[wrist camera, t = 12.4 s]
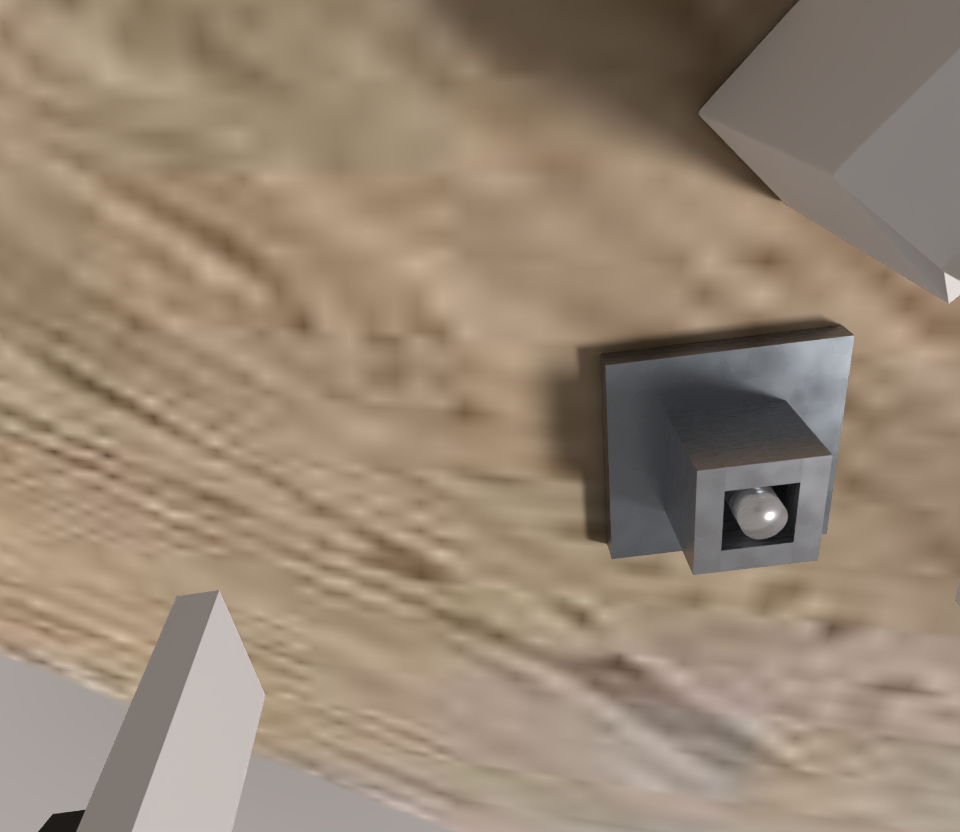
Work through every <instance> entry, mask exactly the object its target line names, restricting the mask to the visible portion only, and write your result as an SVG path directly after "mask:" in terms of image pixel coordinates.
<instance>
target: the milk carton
mask: <svg viewBox="0 0 960 832" xmlns="http://www.w3.org/2000/svg"><path fill="white" fill-rule="evenodd" d="M699 116H700V117H701V118H702V119H703V120H704V121H705V122H706V123H707V124H708V125H709V126H710V127H711V128H712V129H713V130H714V131H715V132H716V133H717V134H718V135H719V136H720V137H721V138H722V139H723V140H724V141H725V143H726V144H727V145H728V146H729V147H730V148H731V149H732V150H733V151H734V152H735V153H736V154H737V155H738V156H739V157H740V158H741V159H742V160H743V161H744V162H745V163H746V164H747V165H748V166H749V167H750V168H751V169H752V170H753V171H754V172H755V174H756V175H757V176H758V177H759V178H760V179H761V180H762V181H763V182H764V183H765V184H766V185H767V186H768V187H769V188H770V189H771V190H772V191H773V192H774V193H775V194H776V195H777V196H778V197H779V198H780V199H781V200H782V201H783V202H784V203H785V204H786V205H787V206H789V207H790V208H792V209H794V210H795V211H797V212H799V213H800V214H802V215H804V216H805V217H807V218H809V219H810V220H812V221H813V222H815V223H817V224H818V225H820V226H822V227H823V228H825V229H827V230H828V231H830V232H832V233H833V234H835V235H837V236H838V237H840V238H841V239H843V240H845V241H846V242H848V243H850V244H851V245H853V246H855V247H856V248H858V249H860V250H861V251H863V252H865V253H866V254H868V255H869V256H871V257H873V258H874V259H876V260H878V261H879V262H881V263H883V264H884V265H886V266H888V267H889V268H891V269H893V270H894V271H896V272H898V273H899V274H901V275H902V276H904V277H906V278H907V279H909V280H911V281H912V282H914V283H916V284H917V285H919V286H921V287H922V288H924V289H926V290H927V291H929V292H930V293H932V294H934V295H935V296H937V297H939V298H940V299H942V300H944V301H945V302H947V303H948V304H949V303H950V302H951V301H953V300H954V299H955V298H956V297H958V296H959V295H960V0H799V1H798V2H797V3H796V4H795V5H794V6H793V8H792V9H791V10H790V11H789V12H788V13H787V14H786V15H785V16H784V17H783V19H782V20H781V21H780V22H779V23H778V24H777V25H776V26H775V27H774V28H773V30H772V31H771V32H770V33H769V34H768V35H767V36H766V37H765V38H764V39H763V41H762V42H761V43H760V44H759V45H758V46H757V47H756V48H755V49H754V50H753V52H752V53H751V54H750V55H749V56H748V57H747V58H746V59H745V60H744V61H743V63H742V64H741V65H740V66H739V67H738V68H737V69H736V70H735V71H734V72H733V74H732V75H731V76H730V77H729V78H728V79H727V80H726V81H725V82H724V84H723V85H722V86H721V87H720V88H719V89H718V90H717V91H716V92H715V93H714V95H713V96H712V97H711V98H710V99H709V100H708V101H707V102H706V103H705V105H704V106H703V107H702V108H701V109H700V111H699Z"/></svg>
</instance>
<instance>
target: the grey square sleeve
mask: <svg viewBox="0 0 960 832" xmlns="http://www.w3.org/2000/svg"><path fill="white" fill-rule="evenodd" d="M831 462H832V454H831V453H830V451H829V450H828V449H827V448H826V447H825V446H824V444H823V443H822V442H821V441H820V440H819V439H818V437H817V436H816V435H815V434H814V433H813V432H812V430H811V429H810V428H809V427H808V426H807V425H806V423H805V422H804V421H803V420H802V419H801V418H800V416H799V415H798V414H797V413H796V412H795V411H794V409H793V408H792V407H791V406H790V405H789V404H788V402H787V401H778V402H770V403H761V404H753V405H745V406H736V407H728V408H719V409H711V410H702V411H694V412H685V413H677V414H668V415H667V419H666V492H665V512H666V514H667V517H668V519H669V521H670V523H671V526H672V528H673V530H674V532H675V535H676V537H677V539H678V541H679V544H680V546H681V548H682V551H683V553H684V555H685V557H686V560H687V562H688V564H689V566H690V569H691V571H692V573H693V575H696V574H705V573H714V572H722V571H731V570H739V569H748V568H757V567H765V566H774V565H782V564H791V563H800V562H808V561H817V560H818V555H819V548H820V541H821V534H822V527H823V519H824V512H825V505H826V498H827V491H828V484H829V476H830V469H831ZM766 486H771V488H772V489H773V491H774V492H775V494H776V495H777V497H778V498H779V500H780V501H781V502H782V504H783V505H784V507H785V508H786V510H787V513H788V519H787V522H786V524H785V526H784V527H783V529H782V530H781V531H780V532H778V533H777V534H775V535H774V536H772V537H769V538H766V539H753V538H750V537H748V536H747V535H745V534H744V532H743V531H742V529H741V527H740V526H739V524H738V522H737V520H736V519H735V517H734V515H733V513H732V512H731V510H730V508H729V506H728V505H727V503H726V501H725V499H724V494H725V491H731V490H740V489H749V488H757V487H766Z"/></svg>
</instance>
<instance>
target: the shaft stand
mask: <svg viewBox="0 0 960 832" xmlns="http://www.w3.org/2000/svg"><path fill="white" fill-rule="evenodd" d="M853 342H854V335H853V334H852V333H851V332H850V331H848V330H847V329H846V328H845V327H844V326H842V325H839V326H831V327H823V328H815V329H806V330H798V331H790V332H782V333H773V334H765V335H757V336H749V337H740V338H732V339H724V340H715V341H707V342H699V343H691V344H682V345H674V346H666V347H658V348H649V349H641V350H633V351H625V352H616V353H608V354H601V381H602V409H603V437H604V465H605V492H606V520H607V545H608V548H609V551H610V555H611V558H612V559H616V558H625V557H633V556H641V555H650V554H658V553H667V552H675V551H682V548H681V546H680V544H679V541H678V539H677V537H676V535H675V532H674V530H673V528H672V526H671V523H670V521H669V519H668V517H667V514H666V512H665V492H666V419H667V415H668V414H677V413H685V412H694V411H702V410H711V409H719V408H728V407H736V406H745V405H753V404H761V403H770V402H778V401H787V402H788V404H789V405H790V406H791V407H792V408H793V409H794V411H795V412H796V413H797V414H798V415H799V416H800V418H801V419H802V420H803V421H804V422H805V423H806V425H807V426H808V427H809V428H810V429H811V430H812V432H813V433H814V434H815V435H816V436H817V437H818V439H819V440H820V441H821V442H822V443H823V444H824V446H825V447H826V448H827V449H828V450H829V451H830V453H831V454H832V462H831V469H830V476H829V484H828V491H827V498H826V505H825V512H824V519H823V527H822V534H827V527H828V520H829V513H830V506H831V498H832V491H833V484H834V477H835V470H836V463H837V456H838V449H839V441H840V434H841V427H842V420H843V413H844V406H845V399H846V392H847V384H848V377H849V370H850V363H851V356H852V349H853ZM724 499H725V501H726V503H727V505H728V506H729V508H730V510H731V512H732V513H733V515H734V517H735V519H736V520H737V522H738V524H739V526H740V527H741V529H742V531H743V532H744V534H745V535H747V536H748V537H750V538H753V539H766V538H769V537H772V536H774V535H775V534H777V533H778V532H780V531H781V530H782V529H783V527H784V526H785V524H786V522H787V519H788V513H787V510H786V508H785V507H784V505H783V504H782V502H781V501H780V500H779V498H778V497H777V495H776V494H775V492H774V491H773V489H772V488H771V486H766V487H757V488H749V489H740V490H731V491H725V494H724Z"/></svg>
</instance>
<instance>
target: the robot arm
mask: <svg viewBox="0 0 960 832" xmlns="http://www.w3.org/2000/svg"><path fill="white" fill-rule="evenodd" d="M955 601H956V602H957V603H958V604H959V606H960V581H959V586H958V590H957V595H956V599H955ZM264 699H265V694H264V691H263V689H262V687H261V684H260V682H259V680H258V678H257V675H256V673H255V671H254V668H253V666H252V664H251V662H250V659H249V657H248V655H247V652H246V650H245V648H244V646H243V643H242V641H241V639H240V636H239V634H238V632H237V630H236V627H235V625H234V623H233V620H232V618H231V616H230V614H229V611H228V609H227V607H226V604H225V602H224V600H223V598H222V595H221V593H220V591H219V590H218V591H211V592H204V593H197V594H190V595H183V596H177V597H176V599H175V602H174V604H173V606H172V609H171V611H170V613H169V616H168V618H167V620H166V623H165V625H164V627H163V630H162V632H161V634H160V637H159V639H158V641H157V644H156V646H155V648H154V651H153V653H152V655H151V658H150V660H149V662H148V665H147V667H146V670H145V672H144V674H143V677H142V679H141V681H140V684H139V686H138V688H137V691H136V693H135V695H134V698H133V700H132V702H131V705H130V707H129V709H128V712H127V714H126V716H125V719H124V721H123V723H122V726H121V728H120V731H119V733H118V736H117V738H116V740H115V742H114V745H113V747H112V749H111V752H110V754H109V757H108V759H107V761H106V763H105V766H104V768H103V770H102V773H101V775H100V777H99V780H98V782H97V785H96V787H95V789H94V791H93V794H92V796H91V798H90V801H89V803H88V806H87V808H86V810H81V811H73V812H65V813H59V814H53V815H52V816H51V817H50V818H49V820H48V821H47V822H46V823H45V824H44V826H43V827H42V828H41V829H40V830H39V832H232V829H233V824H234V820H235V816H236V812H237V808H238V804H239V800H240V796H241V792H242V788H243V784H244V780H245V776H246V772H247V768H248V764H249V759H250V756H251V752H252V747H253V743H254V739H255V735H256V731H257V727H258V723H259V719H260V715H261V711H262V707H263V703H264Z"/></svg>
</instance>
